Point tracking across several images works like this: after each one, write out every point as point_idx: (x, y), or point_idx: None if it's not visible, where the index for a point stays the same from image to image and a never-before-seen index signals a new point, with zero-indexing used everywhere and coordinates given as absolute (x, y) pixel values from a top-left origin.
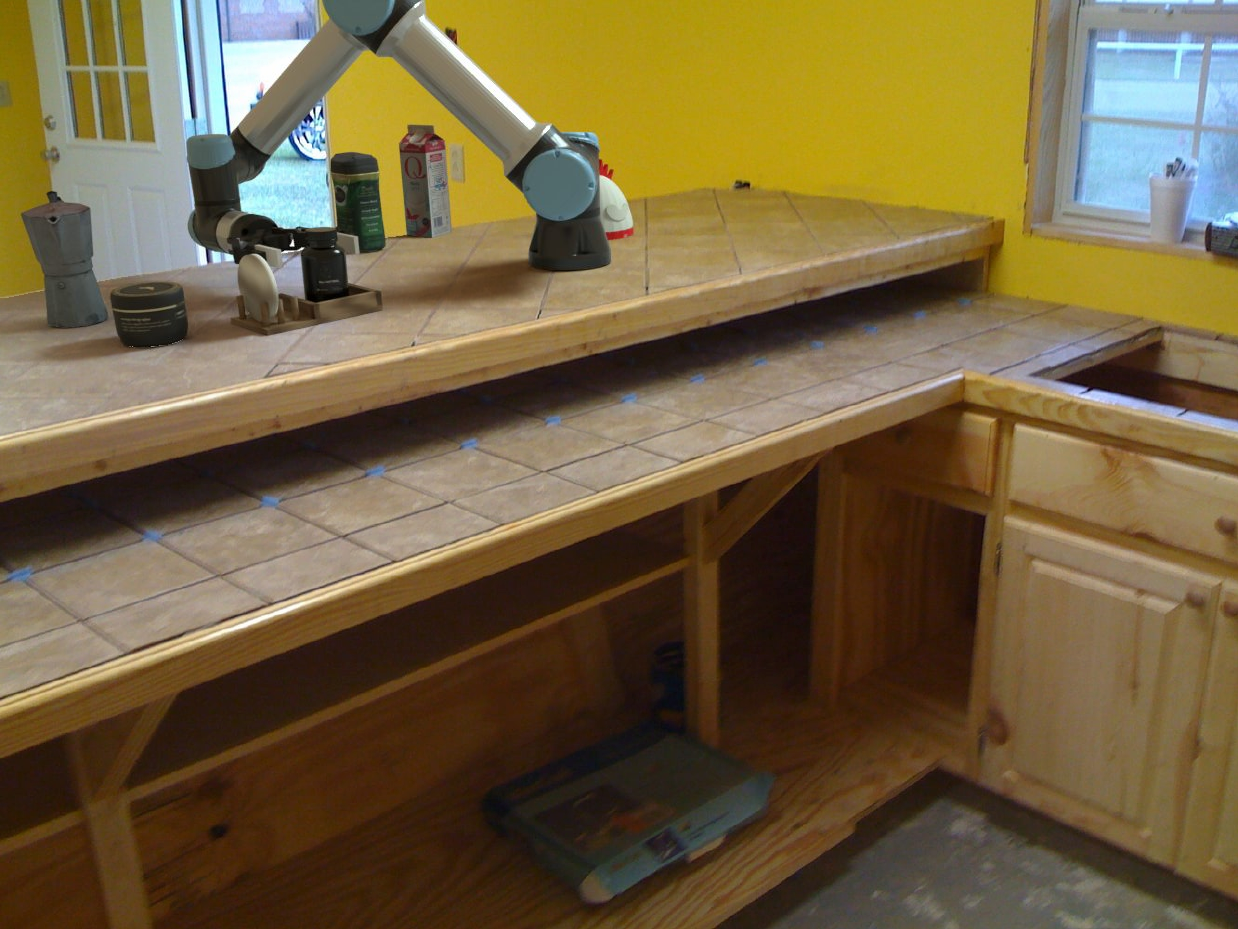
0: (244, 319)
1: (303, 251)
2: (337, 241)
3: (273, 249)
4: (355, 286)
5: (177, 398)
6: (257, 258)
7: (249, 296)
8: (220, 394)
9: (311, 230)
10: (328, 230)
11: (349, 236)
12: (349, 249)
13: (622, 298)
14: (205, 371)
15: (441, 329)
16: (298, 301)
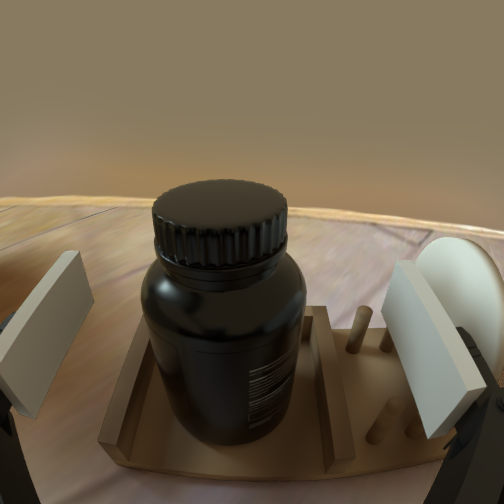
0: None
1: (299, 282)
2: (35, 358)
3: (420, 275)
4: (135, 367)
5: (492, 236)
6: (465, 239)
7: None
8: (464, 226)
9: (264, 200)
10: (219, 182)
11: (67, 267)
12: (76, 316)
13: (27, 208)
14: None
15: None
16: (336, 355)
